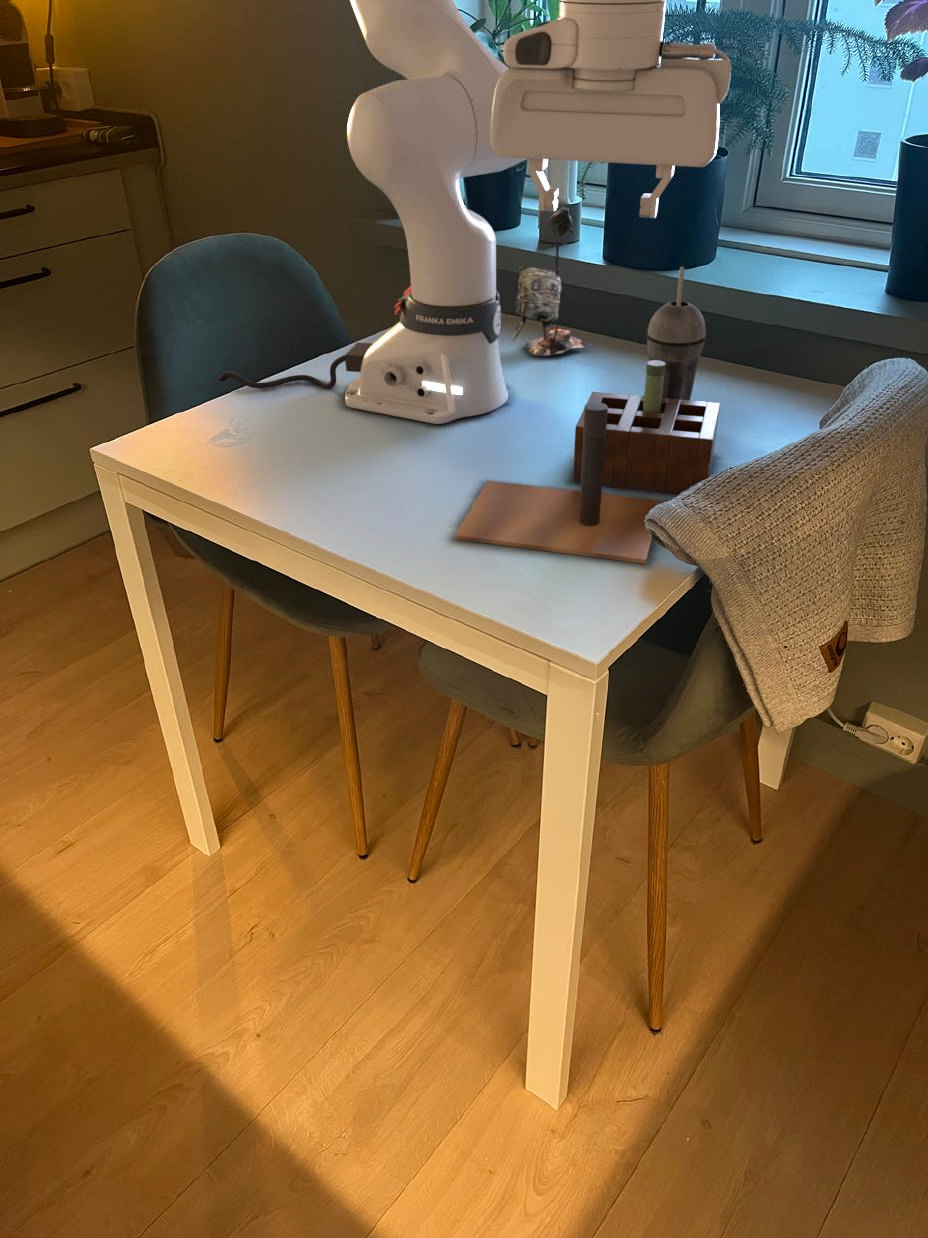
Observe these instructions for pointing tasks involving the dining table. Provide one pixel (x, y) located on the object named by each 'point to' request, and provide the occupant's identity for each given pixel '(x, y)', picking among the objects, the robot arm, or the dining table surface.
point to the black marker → (592, 462)
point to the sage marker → (653, 386)
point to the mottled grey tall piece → (545, 298)
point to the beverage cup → (677, 344)
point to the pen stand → (653, 443)
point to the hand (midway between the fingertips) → (597, 213)
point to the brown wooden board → (558, 522)
